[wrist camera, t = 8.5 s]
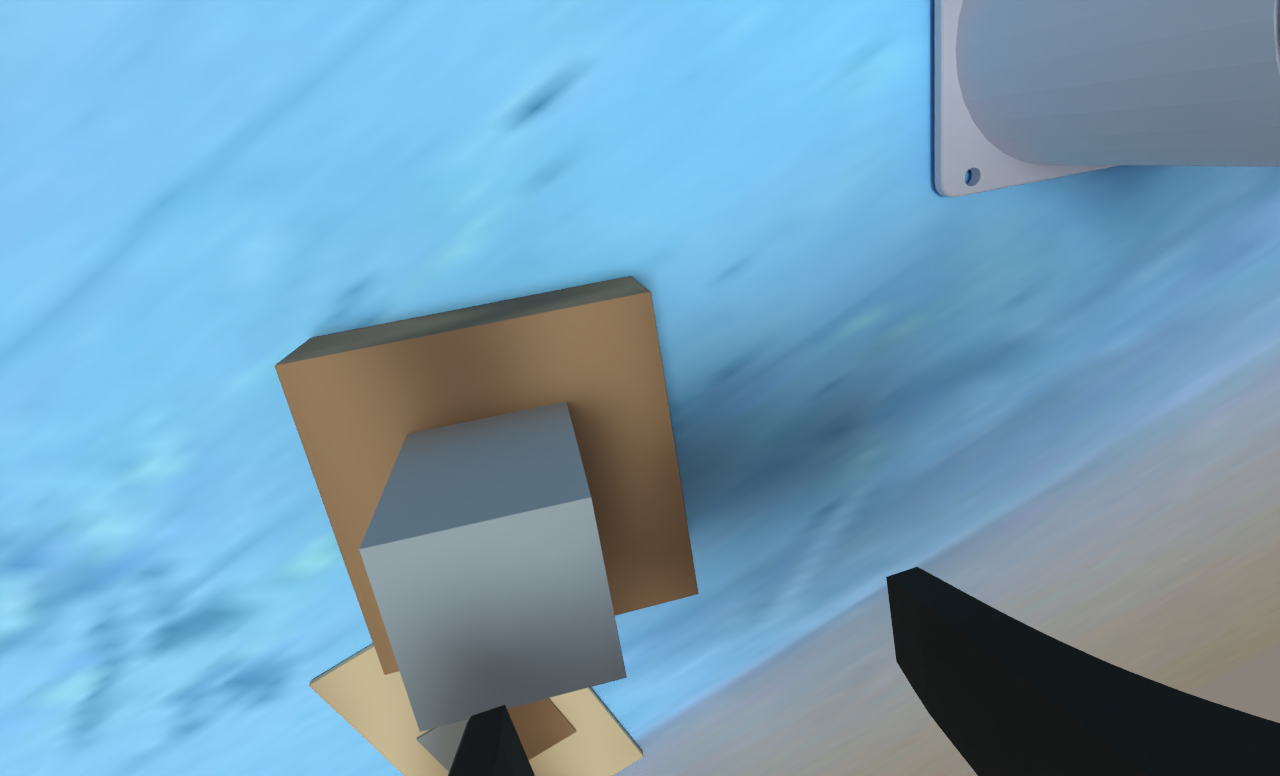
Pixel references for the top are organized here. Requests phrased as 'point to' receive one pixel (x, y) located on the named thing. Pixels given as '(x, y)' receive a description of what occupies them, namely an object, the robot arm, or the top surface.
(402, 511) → the gray brick
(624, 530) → the walnut slab
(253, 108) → the top surface
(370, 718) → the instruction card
